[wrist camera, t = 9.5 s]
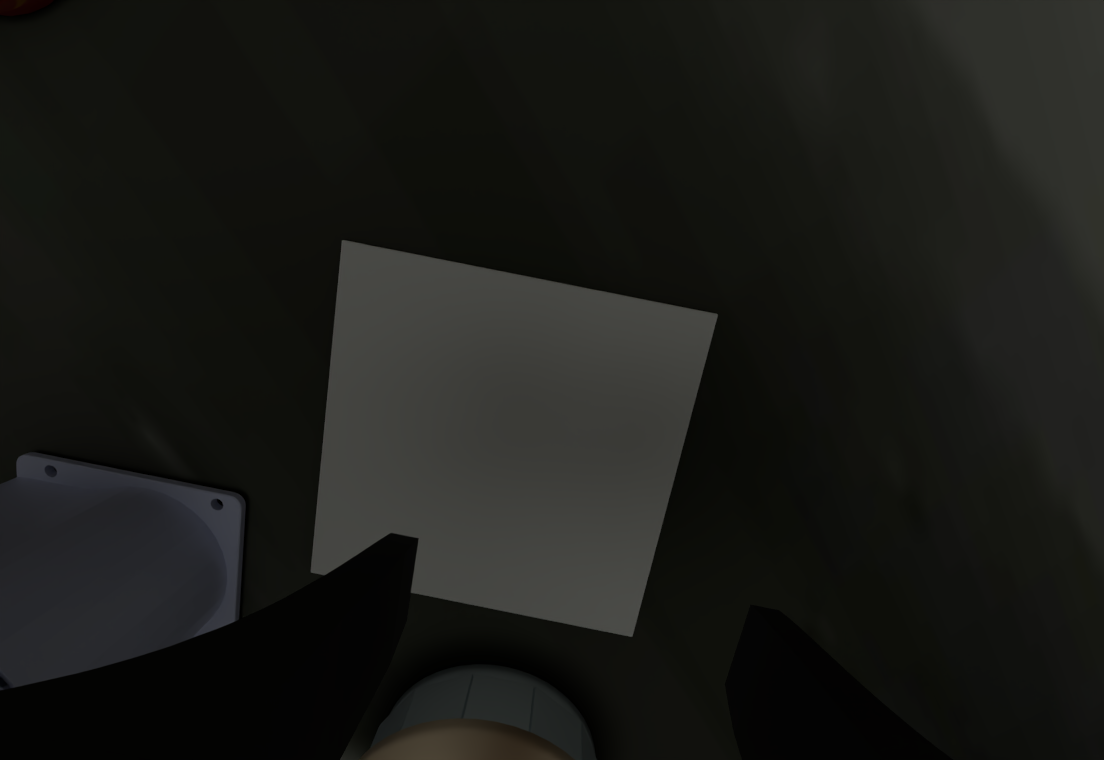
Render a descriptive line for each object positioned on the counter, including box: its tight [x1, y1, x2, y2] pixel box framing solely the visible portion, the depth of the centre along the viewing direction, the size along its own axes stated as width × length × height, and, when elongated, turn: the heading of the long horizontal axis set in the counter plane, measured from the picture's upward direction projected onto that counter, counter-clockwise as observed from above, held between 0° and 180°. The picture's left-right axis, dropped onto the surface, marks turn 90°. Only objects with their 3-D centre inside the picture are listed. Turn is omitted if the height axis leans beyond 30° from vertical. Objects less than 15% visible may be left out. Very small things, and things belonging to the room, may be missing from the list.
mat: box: [311, 240, 718, 637], centre depth 22 cm, size 14×14×1 cm
